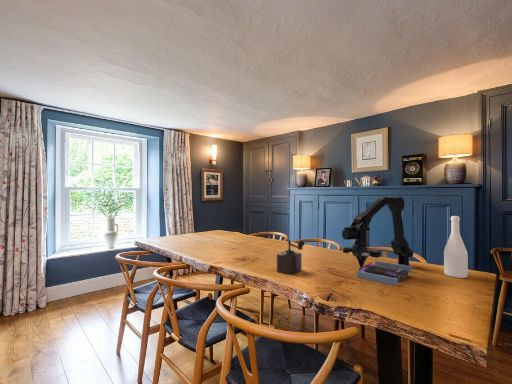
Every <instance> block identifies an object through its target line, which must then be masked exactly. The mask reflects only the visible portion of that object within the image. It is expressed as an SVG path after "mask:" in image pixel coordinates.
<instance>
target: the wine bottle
mask: <svg viewBox="0 0 512 384" xmlns="http://www.w3.org/2000/svg"><path fill="white" fill-rule="evenodd" d="M460 220H461V219H460V216H458V215H452V216H450V221H451V223H450V235H449V237H448V240H447V241H446V245H445V246H444V250H443V273H444V274H445V275H446V276H448V277H450V278H456V279H465V278H467V277H468V276H469V275H468V274H469V273H468V272H469V269H468V267H469V265H468V264H469V263H468V260H469V258H468V254H469V253H468V251H467V249H466V246H465V243H464V240H463V238H462V236H461V233H460V231H461V230H460Z"/></svg>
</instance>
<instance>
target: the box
mask: <svg viewBox="0 0 512 384" xmlns="http://www.w3.org/2000/svg"><path fill="white" fill-rule="evenodd" d="M358 271H361V272H366V273H371V274H376V275H381V276H386V277H391V278H397V279H398V283H399V282H401V281H403V280H404V279H405V278H408V276H409V272H408V270H403V269H399V268H393V267H388V266H383V265H378V264H375V263H373V262H370V263H368V264H365V265H363V267H361V268H360V267H359V268H358Z"/></svg>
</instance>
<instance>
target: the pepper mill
mask: <svg viewBox="0 0 512 384" xmlns="http://www.w3.org/2000/svg"><path fill="white" fill-rule="evenodd" d="M296 243H297V245H296V244H292V243H291V240H290V239H289V240H288V243H287V245H288V249H287V250H284V251H282V252H279V253H276V272H277V273H280V274H288V275H296V274H297V275H298V273H300V272H301V271H302V253H301V252H296V251H294V250H292V249H291V246H292V247H293V248H297V249H298V250H300V251H301V250H303V247H304V246H305V240H303V239H299V240H298V241H297V242H296Z"/></svg>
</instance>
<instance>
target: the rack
mask: <svg viewBox="0 0 512 384" xmlns="http://www.w3.org/2000/svg"><path fill="white" fill-rule="evenodd" d="M374 264H378V265H383V266H388V267H393V268H399V269H403V270H408V273H412V271H413V270H412V269H413V268H412V265H411V266H406V265H400V264H398V263H394V262H393V263H392V262H387V261H386V262H385V261H380V260H375V262H374ZM356 278H357V279H362V280H366V281H372V282H375V283H376V282H377V283H380V284H386V285H390V286H391V285H392V286H395V287H398V286H399V282H398V279H397V278H391V277H386V276H381V275H376V274H371V273H366V272H361V271H359V270H357V271H356Z"/></svg>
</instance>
